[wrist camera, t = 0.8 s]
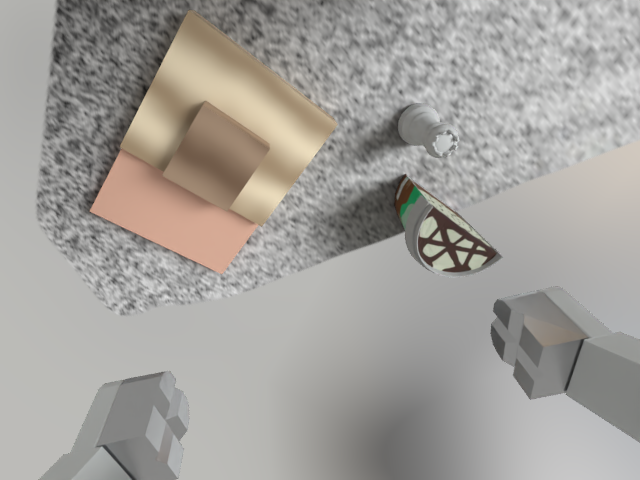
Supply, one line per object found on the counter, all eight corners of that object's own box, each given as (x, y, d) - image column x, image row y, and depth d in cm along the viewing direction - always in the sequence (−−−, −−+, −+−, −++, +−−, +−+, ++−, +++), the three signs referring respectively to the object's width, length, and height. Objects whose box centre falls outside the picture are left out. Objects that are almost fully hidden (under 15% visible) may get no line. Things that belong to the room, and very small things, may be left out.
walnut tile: (205, 100, 34) (202, 104, 32) (269, 143, 37) (269, 149, 35) (166, 168, 37) (162, 175, 35) (228, 203, 39) (227, 211, 38)
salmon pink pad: (128, 139, 37) (123, 144, 36) (260, 215, 44) (260, 221, 43) (94, 205, 41) (89, 211, 39) (223, 267, 47) (222, 274, 46)
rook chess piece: (388, 129, 40) (413, 151, 34) (414, 93, 39) (445, 109, 32) (417, 149, 42) (446, 175, 35) (443, 116, 41) (479, 136, 34)
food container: (363, 206, 45) (386, 250, 37) (396, 167, 43) (428, 203, 35) (431, 250, 50) (465, 297, 42) (463, 216, 48) (506, 259, 39)
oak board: (194, 10, 33) (188, 9, 30) (332, 117, 39) (337, 124, 36) (129, 138, 37) (119, 147, 35) (261, 214, 44) (261, 226, 41)
